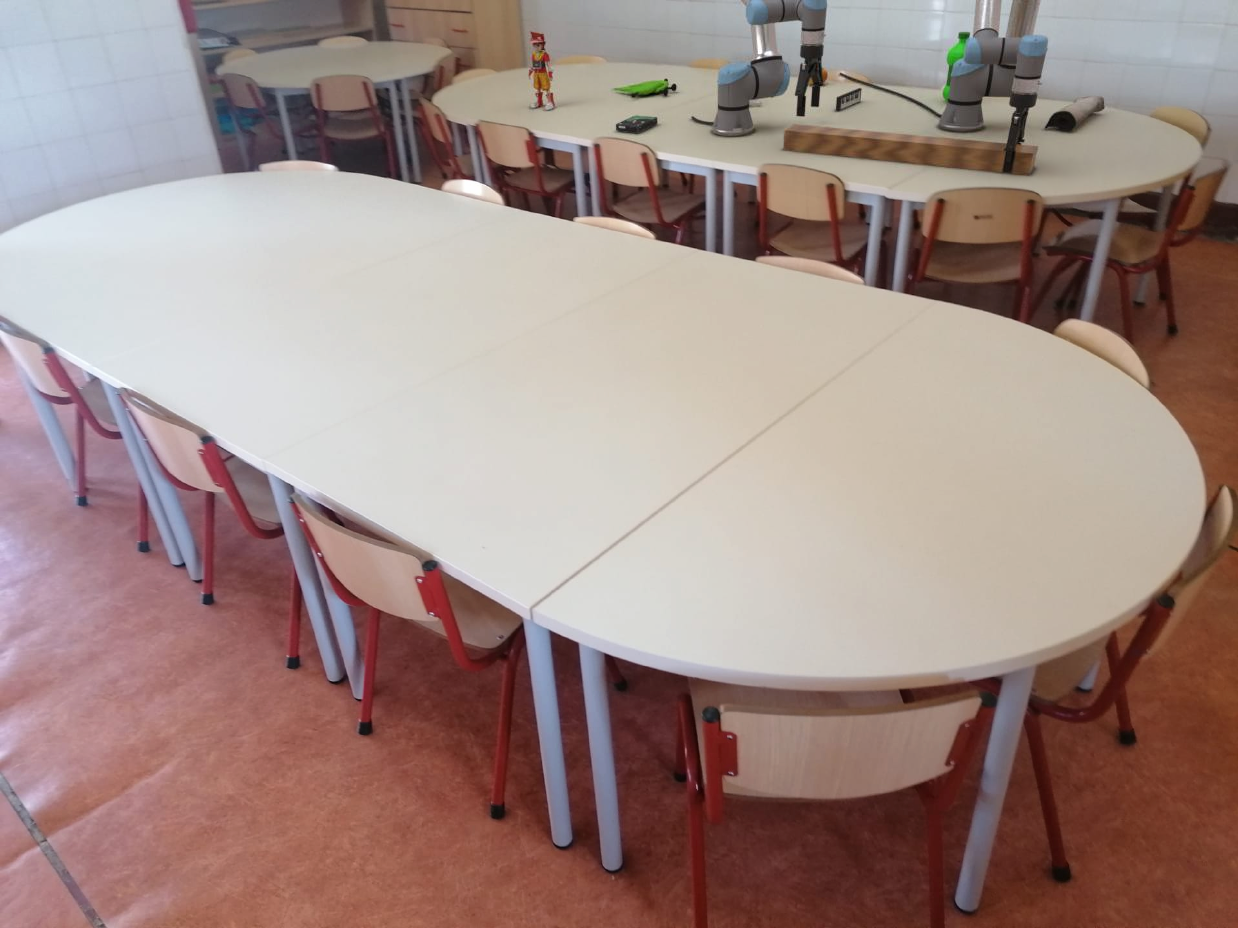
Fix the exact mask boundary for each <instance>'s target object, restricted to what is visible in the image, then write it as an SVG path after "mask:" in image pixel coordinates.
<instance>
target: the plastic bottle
mask: <svg viewBox="0 0 1238 928" xmlns="http://www.w3.org/2000/svg"><path fill="white" fill-rule="evenodd" d="M970 36H971V32H970V31H959V32H958V36H957V39H958V42H957V43H956V44H954V45H953V46H952V47H951V48H950V49H949V50H948V52H947V54H946V63H947V64H948V69H947V70H948V71H947V76H946V77H947V78H946V84H945V85H944V87H943V90H942V97H943V99H944V100H945V101H946V103H947V102H948V96H949V89H950V83H951V74H952V70H953V65H954V63H955V62H956V61H957V60H959V59H962V58H964V51H965V44H966V40H967V39H968V38H971V37H970Z"/></svg>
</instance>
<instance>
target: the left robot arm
mask: <svg viewBox="0 0 1238 928" xmlns="http://www.w3.org/2000/svg"><path fill="white" fill-rule="evenodd" d="M740 1H741V2H742V3H743V5H744V6H745V18H746V21H747V23H748V24H749V25H750V30H751V39H752V40H751V42H752V48H753V49H752V50H753V56H752V58H751V60H750V62H749V61H734V62H730V63H727V64H724V65H723V66H721V67H720V68H719V70H718V75H717V82H716V83H717V111H716V114H715V118H714V120H713V121H706V120H702V119H698V118H696V117H695V116H693V115H692V116H691V117H690V118H691V119H692V120H693V121H695V122H697V123H699V124H704V125H708V126H709V125H710V126H712V133H713V134H715V135H717V136H721V137H741V136H746V135H750V134H752V133H754V127H755V126H754V122H753V118H752V115H751V111H750V106H749V100H754V99H755V100H760V99H768V98H771V99H772V98H775V97H780V96H783V95H784V94H785V93H786V92H787V90H788V87H789V85H790V81H791V68H790V65H789V63H788V62H787V61H785V60H783V55H782V54H781V53H780V52H779V51H778V44H777V42H778V41H777V32H776V24H777V23H778V24H779V23H785V22H787V23H789V22H794V21H799V22H801V29H800V30H801V31H800V44H801V45H800V49H799V57H800V58H801V59H804V62H803V63H802V62H801V63H800V64H799V73H798V78H797V82H796V87H795V91H794V96H795V97H796V98H797V101H796V117H800V118H801V117H802V118H804V117H805V116H806V103H807V95H806V93H807V90H808V86H809V84H810V83H809V80H810V78H812V82H813V85H812V86H811V95H810V97H811V98H810V99H811V100H810V108H811V107H812V108H819V107H820V99H821V98H820V97H821V87H824V83H823V73H822V68H823V65H822V59H823V56H824V43H825V37H826V36H827V33H825V31H826V20H827V19H826V18H827V10H828V9H827V8H828V0H740Z"/></svg>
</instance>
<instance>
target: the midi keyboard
mask: <svg viewBox="0 0 1238 928" xmlns="http://www.w3.org/2000/svg"><path fill="white" fill-rule="evenodd" d="M862 90H863V89H862V87H859V88H856V89H853V90H851V91H849V92H846V93H843V94H841V95H839V96H836V102H835V111H838V112H839V111H841V110H843V109H845V108H848V107H850V106H852V105H854V104H857V103H859V102H861V99H862Z"/></svg>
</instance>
